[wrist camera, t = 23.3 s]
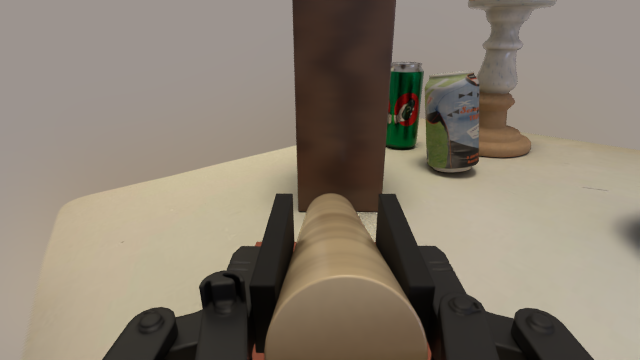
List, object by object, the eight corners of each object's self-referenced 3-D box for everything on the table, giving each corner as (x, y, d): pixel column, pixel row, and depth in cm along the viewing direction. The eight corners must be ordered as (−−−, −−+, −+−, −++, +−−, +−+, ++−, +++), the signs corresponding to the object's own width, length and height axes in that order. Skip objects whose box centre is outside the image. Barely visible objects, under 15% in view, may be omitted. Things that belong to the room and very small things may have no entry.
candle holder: (504, 164, 47) (541, -10, 39) (425, 143, 55) (442, -2, 48) (544, 147, 54) (581, -3, 46) (468, 130, 63) (489, 2, 55)
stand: (298, 211, 35) (287, -181, 23) (303, 173, 44) (297, -121, 33) (381, 211, 34) (409, -182, 23) (369, 173, 44) (385, -122, 33)
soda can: (422, 145, 55) (431, 63, 50) (403, 152, 51) (411, 65, 47) (394, 138, 58) (401, 61, 53) (375, 145, 55) (380, 63, 50)
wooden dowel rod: (432, 430, 9) (424, 270, 8) (270, 438, 9) (257, 280, 9) (357, 240, 29) (354, 191, 28) (307, 244, 29) (304, 194, 29)
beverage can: (469, 182, 41) (488, 74, 37) (408, 169, 45) (418, 70, 40) (481, 166, 46) (499, 69, 41) (425, 156, 50) (436, 66, 45)
